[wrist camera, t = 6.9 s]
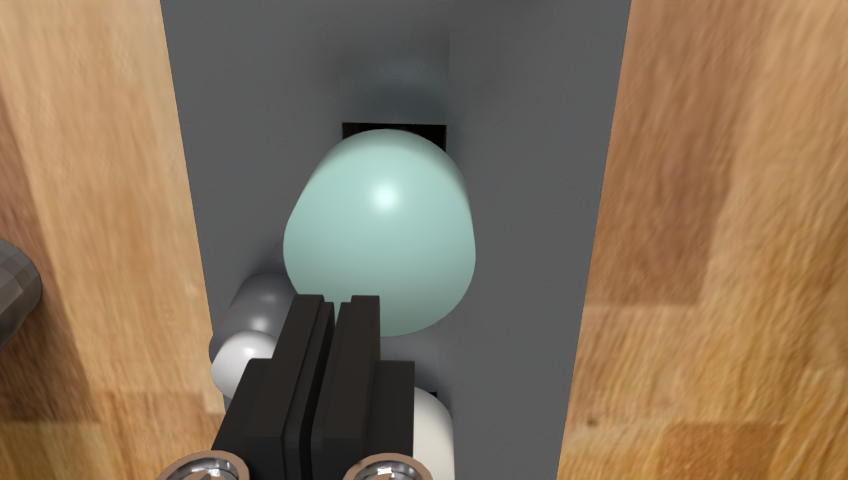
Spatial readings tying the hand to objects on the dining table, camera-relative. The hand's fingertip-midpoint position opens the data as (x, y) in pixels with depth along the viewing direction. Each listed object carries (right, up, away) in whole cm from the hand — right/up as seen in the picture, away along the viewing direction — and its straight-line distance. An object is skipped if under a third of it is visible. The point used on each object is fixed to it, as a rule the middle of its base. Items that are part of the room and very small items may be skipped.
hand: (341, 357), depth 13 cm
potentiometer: (-4, 0, +11) cm, 12 cm away
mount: (+1, +2, +15) cm, 16 cm away
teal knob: (+1, +5, +10) cm, 11 cm away
